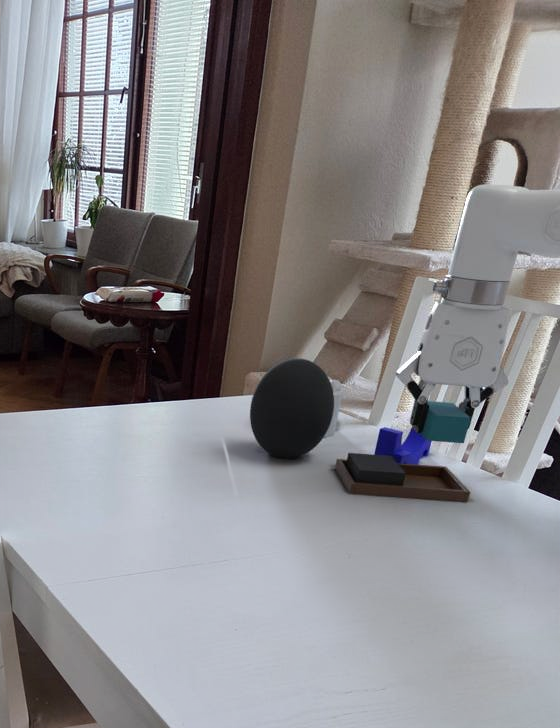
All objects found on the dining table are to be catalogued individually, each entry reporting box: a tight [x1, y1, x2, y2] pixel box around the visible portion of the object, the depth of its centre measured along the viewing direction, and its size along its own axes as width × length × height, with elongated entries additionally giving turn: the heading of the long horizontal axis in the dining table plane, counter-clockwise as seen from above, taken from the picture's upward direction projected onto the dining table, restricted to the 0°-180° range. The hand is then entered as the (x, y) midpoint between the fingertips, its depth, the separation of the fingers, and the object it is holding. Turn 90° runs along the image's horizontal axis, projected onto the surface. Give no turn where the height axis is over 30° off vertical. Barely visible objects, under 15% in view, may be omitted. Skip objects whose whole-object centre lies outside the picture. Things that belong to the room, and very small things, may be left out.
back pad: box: [346, 452, 406, 486], centre depth 123 cm, size 6×8×3 cm
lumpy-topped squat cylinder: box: [323, 375, 344, 439], centre depth 147 cm, size 10×13×9 cm
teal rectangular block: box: [420, 400, 472, 444], centre depth 118 cm, size 5×8×4 cm, turn 176°
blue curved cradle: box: [373, 426, 433, 465], centre depth 132 cm, size 12×4×6 cm, turn 133°
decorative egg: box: [249, 357, 334, 460], centre depth 130 cm, size 12×12×15 cm
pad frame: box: [334, 458, 471, 503], centre depth 123 cm, size 16×11×2 cm
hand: (437, 430), depth 119 cm, fingers closed on teal rectangular block, 5 cm apart
